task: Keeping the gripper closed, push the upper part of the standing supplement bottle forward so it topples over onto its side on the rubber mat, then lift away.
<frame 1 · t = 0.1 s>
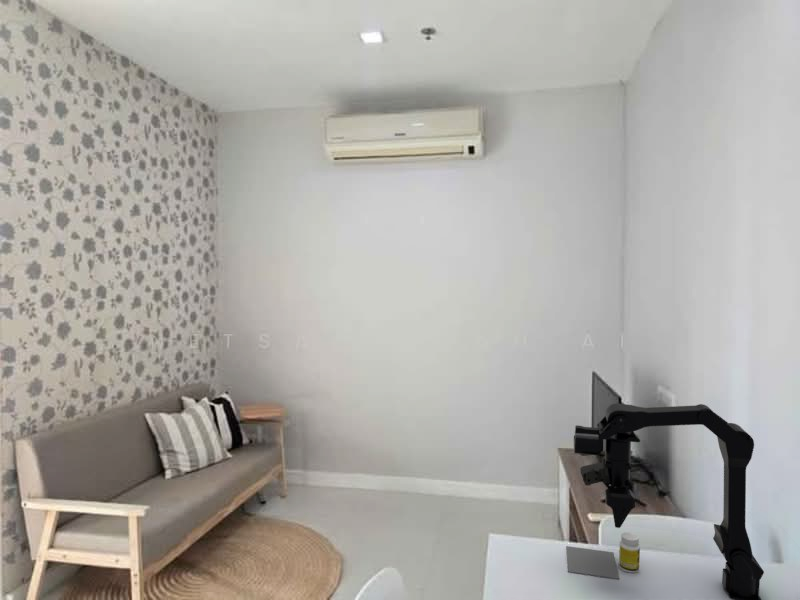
hand: (615, 518, 132), 15 cm above the table, fingers open, 9 cm apart
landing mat: (591, 562, 139), on the table
supplement bottle: (628, 568, 137), on the table
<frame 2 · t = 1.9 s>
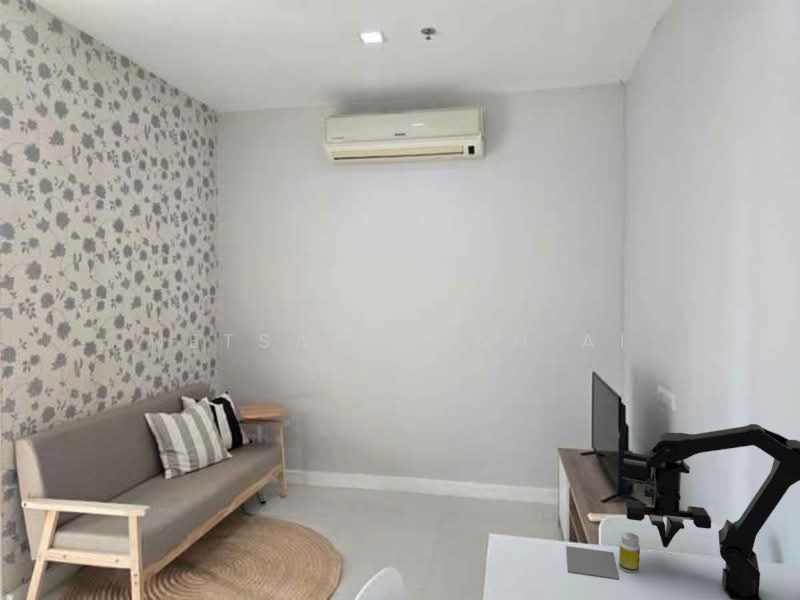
hand: (664, 546, 134), 7 cm above the table, fingers closed
nothing on the table moved.
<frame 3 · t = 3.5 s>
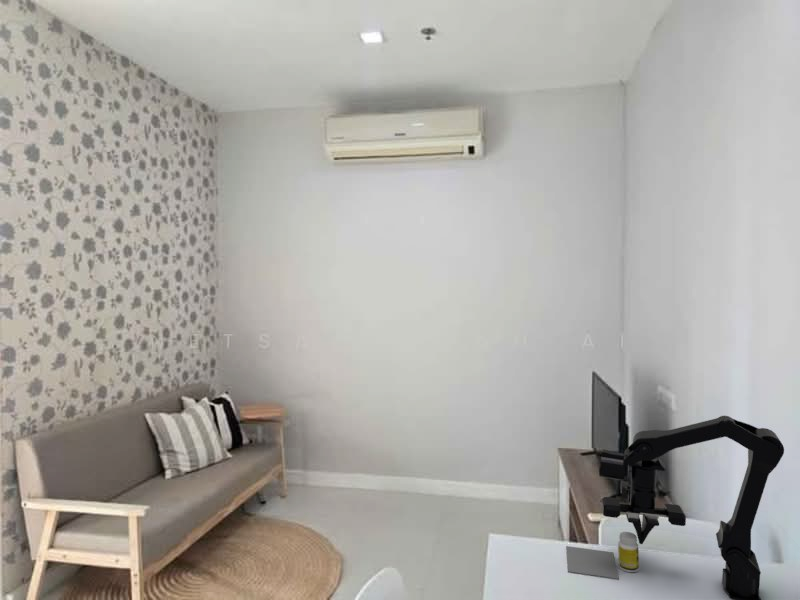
hand: (640, 543, 135), 7 cm above the table, fingers closed
supplement bottle: (628, 568, 137), on the table, touching gripper
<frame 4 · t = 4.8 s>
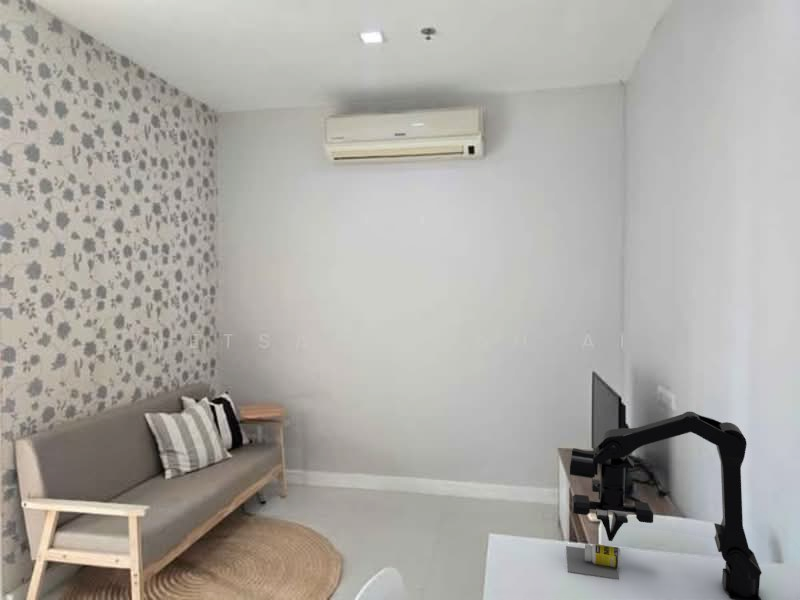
hand: (610, 540, 137), 7 cm above the table, fingers closed
supplement bottle: (620, 557, 136), point 3 cm above the table, touching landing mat
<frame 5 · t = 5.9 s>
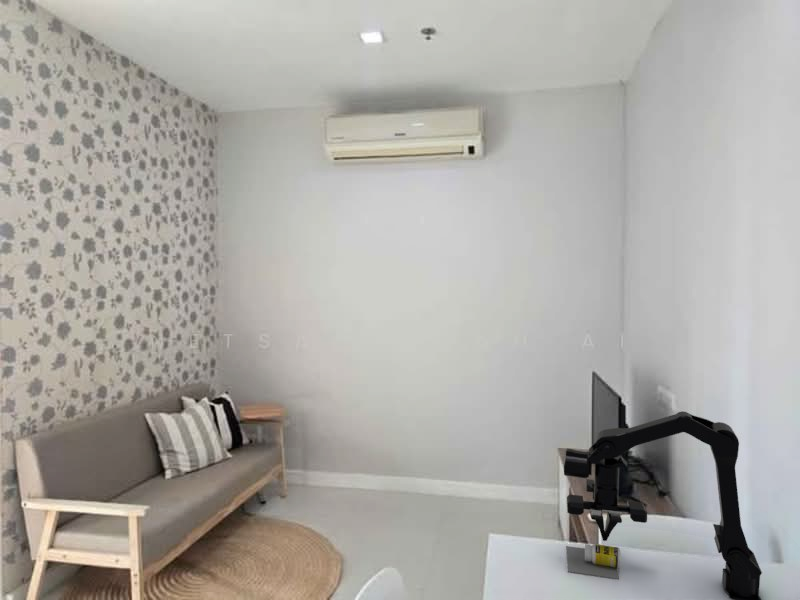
hand: (604, 540, 138), 7 cm above the table, fingers closed
nothing on the table moved.
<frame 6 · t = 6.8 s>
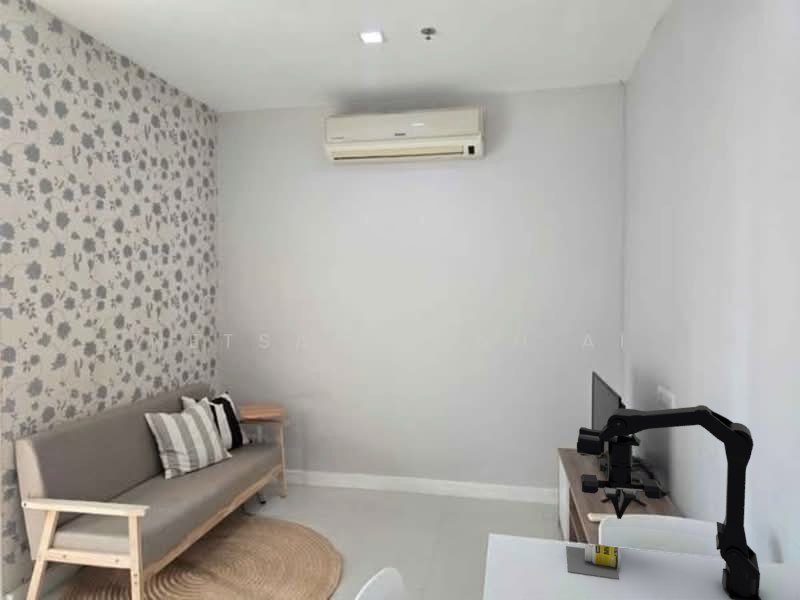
hand: (618, 518, 139), 12 cm above the table, fingers closed
nothing on the table moved.
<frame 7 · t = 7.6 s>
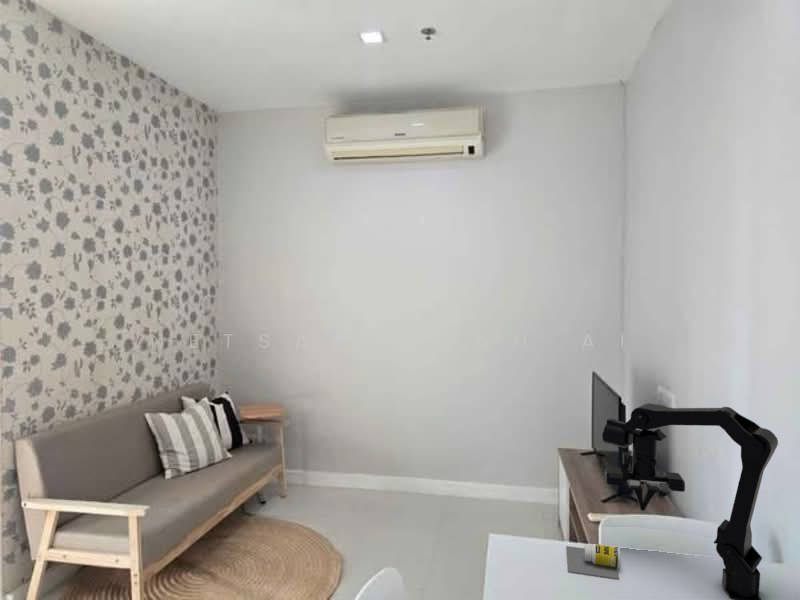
hand: (642, 509, 142), 12 cm above the table, fingers closed
nothing on the table moved.
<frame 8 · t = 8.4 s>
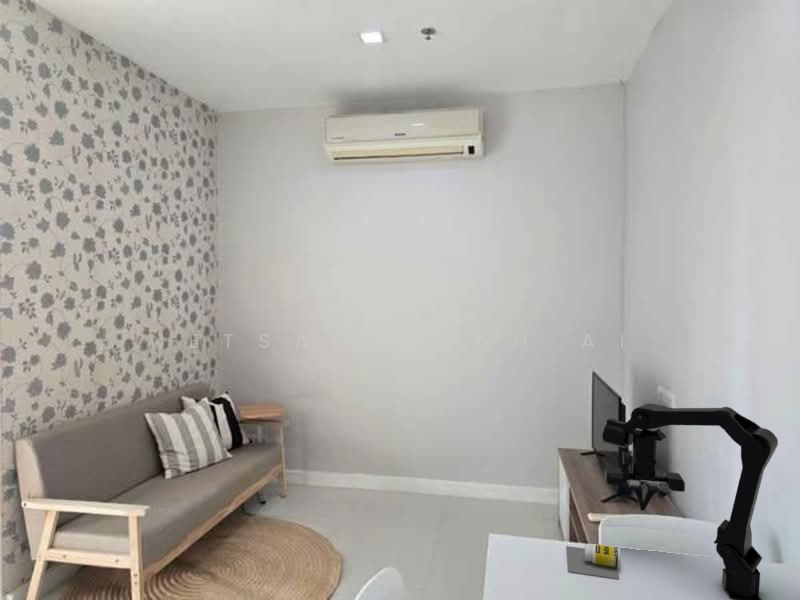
hand: (642, 509, 142), 12 cm above the table, fingers closed
nothing on the table moved.
at the end: supplement bottle tilted 90°; supplement bottle inside the target area (3.5 cm from its centre), point 2.7 cm above the table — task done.
